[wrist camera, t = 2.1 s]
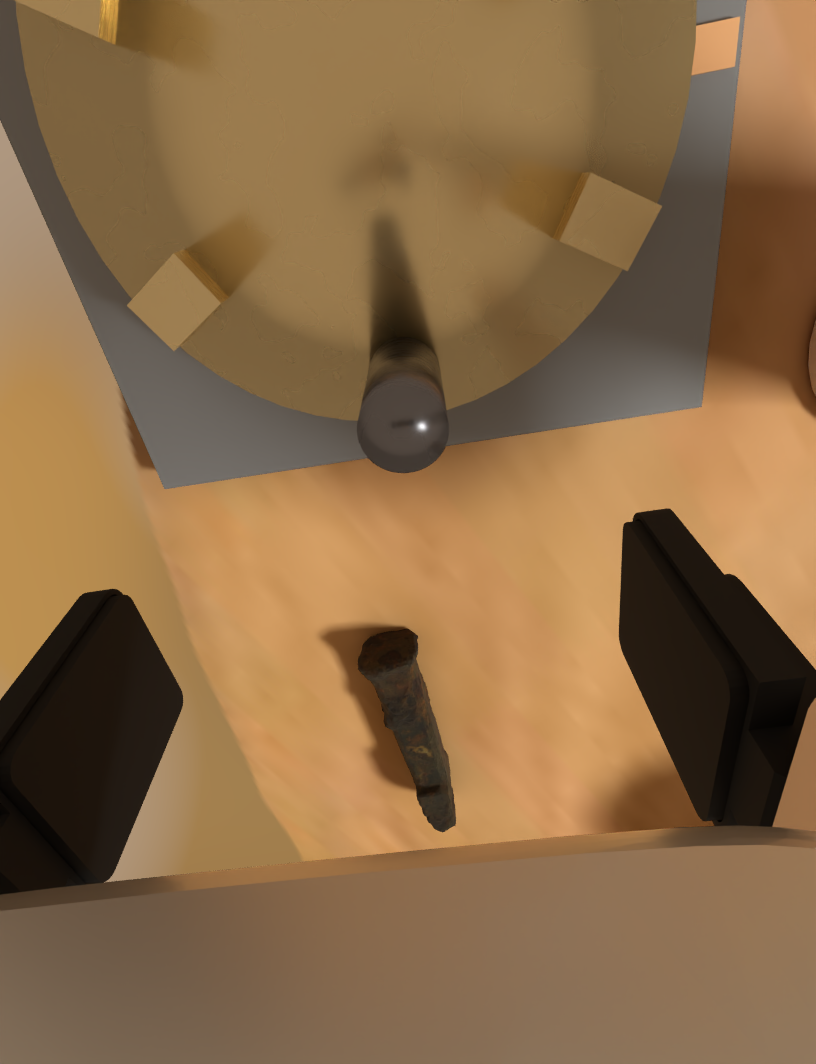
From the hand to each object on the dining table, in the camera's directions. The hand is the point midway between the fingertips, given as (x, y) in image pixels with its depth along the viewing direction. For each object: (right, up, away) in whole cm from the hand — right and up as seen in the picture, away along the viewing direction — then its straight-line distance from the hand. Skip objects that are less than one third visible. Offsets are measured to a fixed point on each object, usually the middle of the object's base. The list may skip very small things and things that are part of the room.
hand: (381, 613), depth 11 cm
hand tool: (+2, -12, +33) cm, 35 cm away
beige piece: (-1, +17, +11) cm, 20 cm away
